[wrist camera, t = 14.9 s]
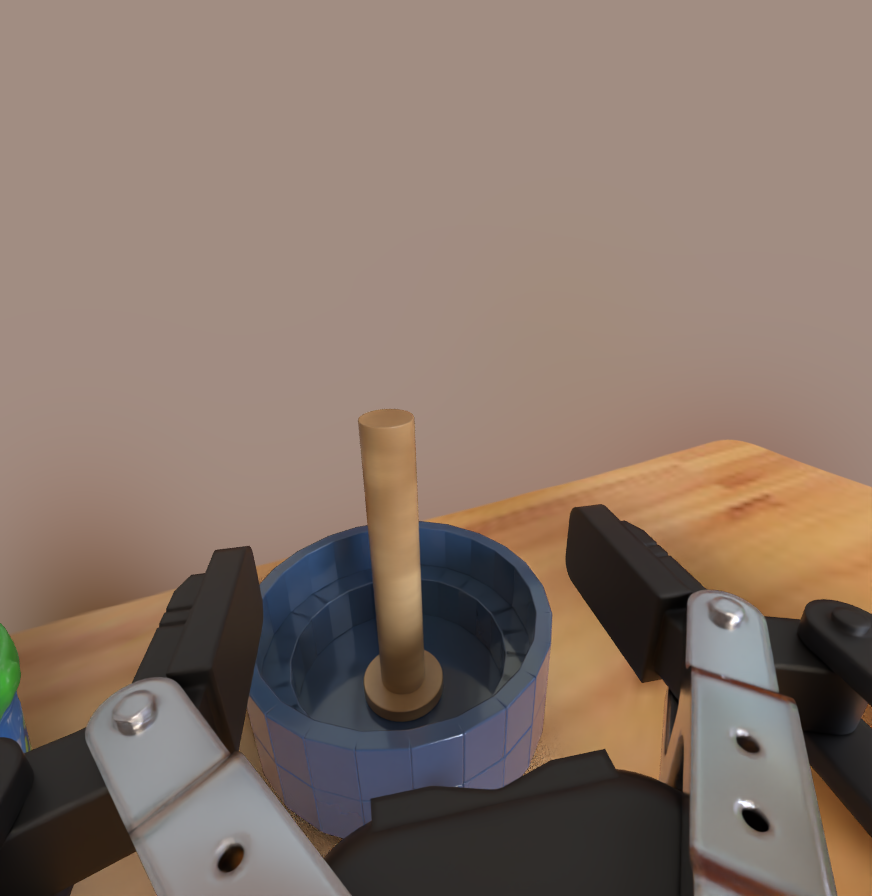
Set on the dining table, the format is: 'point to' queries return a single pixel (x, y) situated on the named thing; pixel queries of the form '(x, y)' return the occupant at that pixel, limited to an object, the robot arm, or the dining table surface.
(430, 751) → the bowl
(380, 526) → the stirring stick
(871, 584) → the dining table surface
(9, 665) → the snack cup
